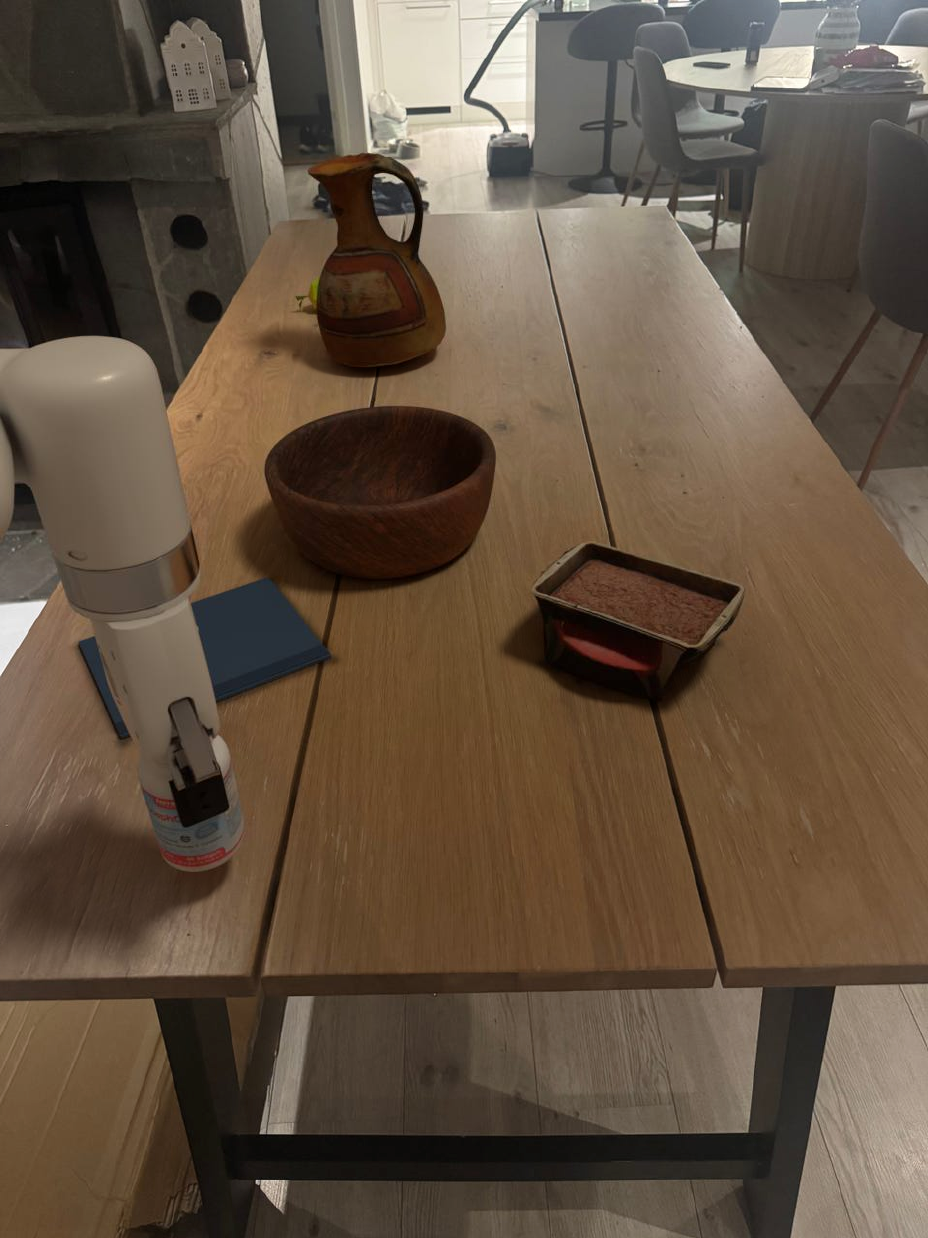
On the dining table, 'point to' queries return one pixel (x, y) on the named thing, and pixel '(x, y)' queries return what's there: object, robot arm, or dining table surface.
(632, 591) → the baking dish
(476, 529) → the wooden bowl
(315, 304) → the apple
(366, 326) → the ceramic pitcher
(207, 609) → the book
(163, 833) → the pill bottle
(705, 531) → the dining table surface
